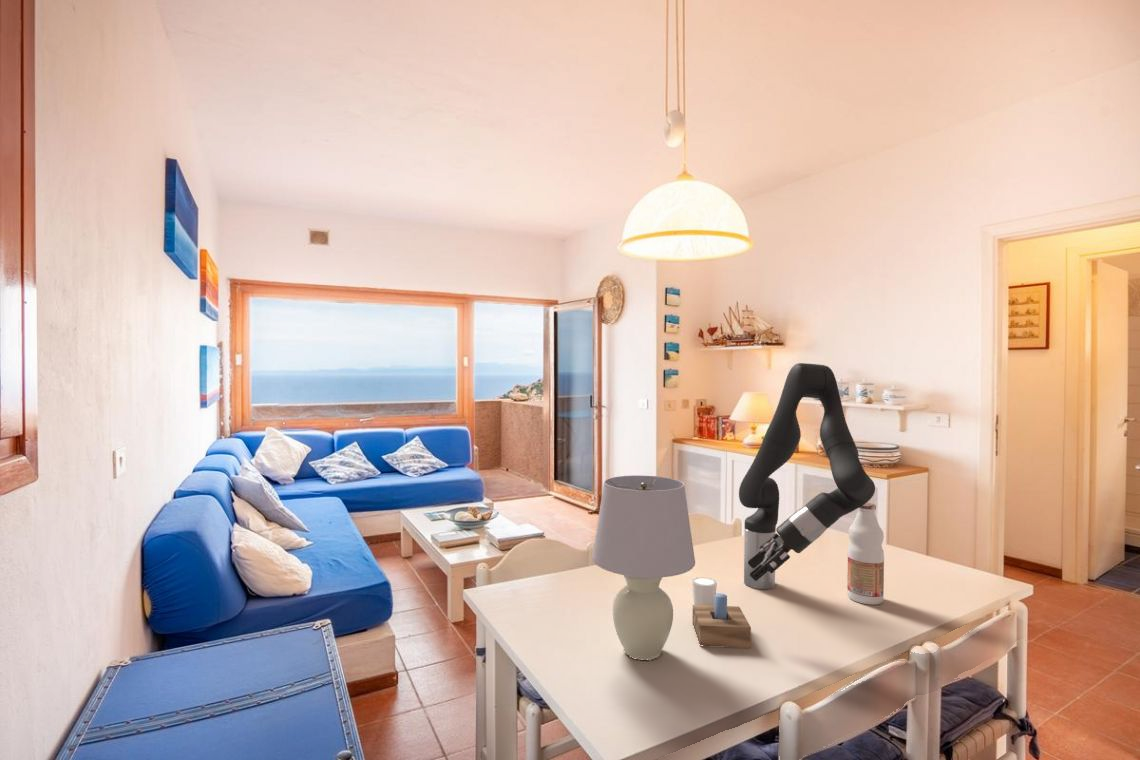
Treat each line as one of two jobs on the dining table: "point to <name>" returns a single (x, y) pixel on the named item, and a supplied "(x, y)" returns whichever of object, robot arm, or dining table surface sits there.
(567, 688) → the dining table surface
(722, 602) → the peg
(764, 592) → the dining table surface
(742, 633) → the hole block
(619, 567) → the lamp
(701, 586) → the white cup
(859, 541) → the fruit juice
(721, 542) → the dining table surface
